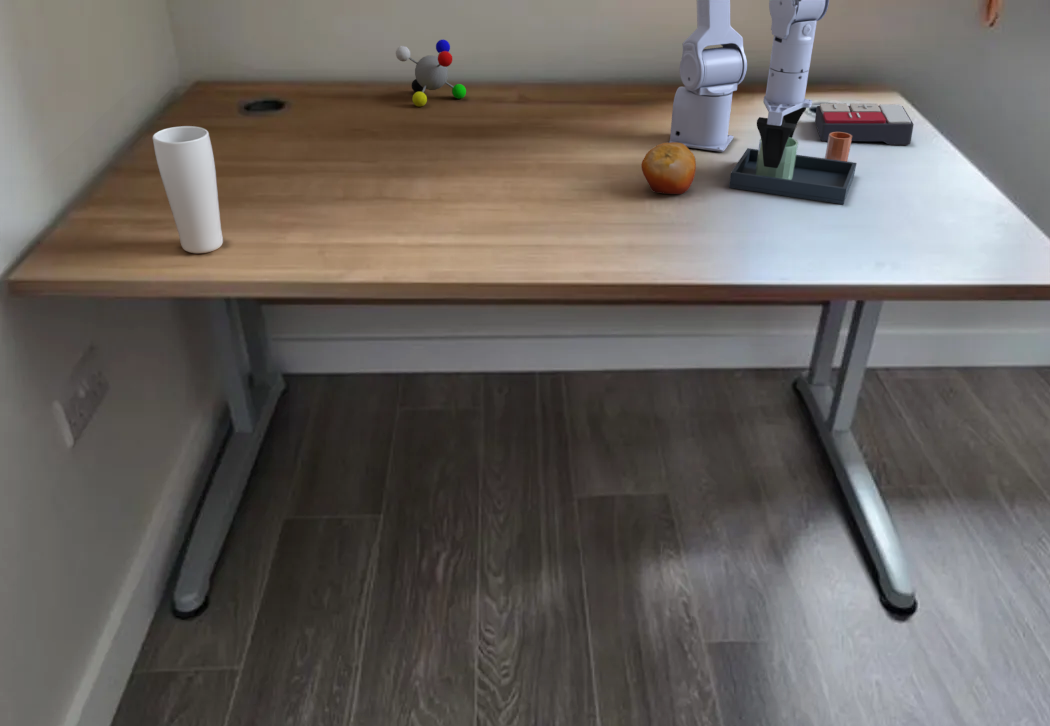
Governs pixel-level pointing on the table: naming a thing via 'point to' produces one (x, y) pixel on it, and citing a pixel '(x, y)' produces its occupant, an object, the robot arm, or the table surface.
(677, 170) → the fruit
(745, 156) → the tray
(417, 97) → the molecular model
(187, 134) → the drinking glass
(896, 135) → the grey and red box
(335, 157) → the table surface
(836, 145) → the brown cup
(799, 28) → the robot arm
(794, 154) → the green cup
